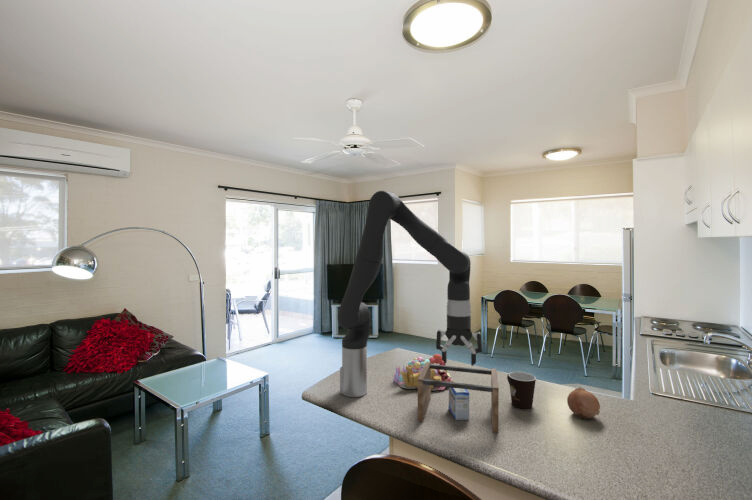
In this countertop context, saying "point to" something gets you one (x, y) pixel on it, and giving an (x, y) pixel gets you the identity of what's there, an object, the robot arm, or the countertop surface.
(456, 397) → the medicine box
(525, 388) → the coffee mug
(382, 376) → the countertop surface
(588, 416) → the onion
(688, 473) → the countertop surface
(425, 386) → the frame
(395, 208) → the robot arm
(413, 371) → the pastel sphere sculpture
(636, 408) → the countertop surface
